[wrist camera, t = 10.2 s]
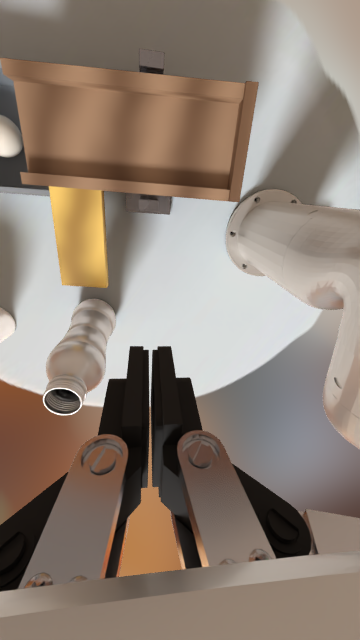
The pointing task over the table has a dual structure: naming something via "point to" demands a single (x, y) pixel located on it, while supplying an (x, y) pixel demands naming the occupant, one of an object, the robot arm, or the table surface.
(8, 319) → the beer glass
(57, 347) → the plastic bottle
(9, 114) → the cup
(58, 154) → the lever chute
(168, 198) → the pivot stand
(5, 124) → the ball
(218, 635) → the robot arm
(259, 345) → the table surface
